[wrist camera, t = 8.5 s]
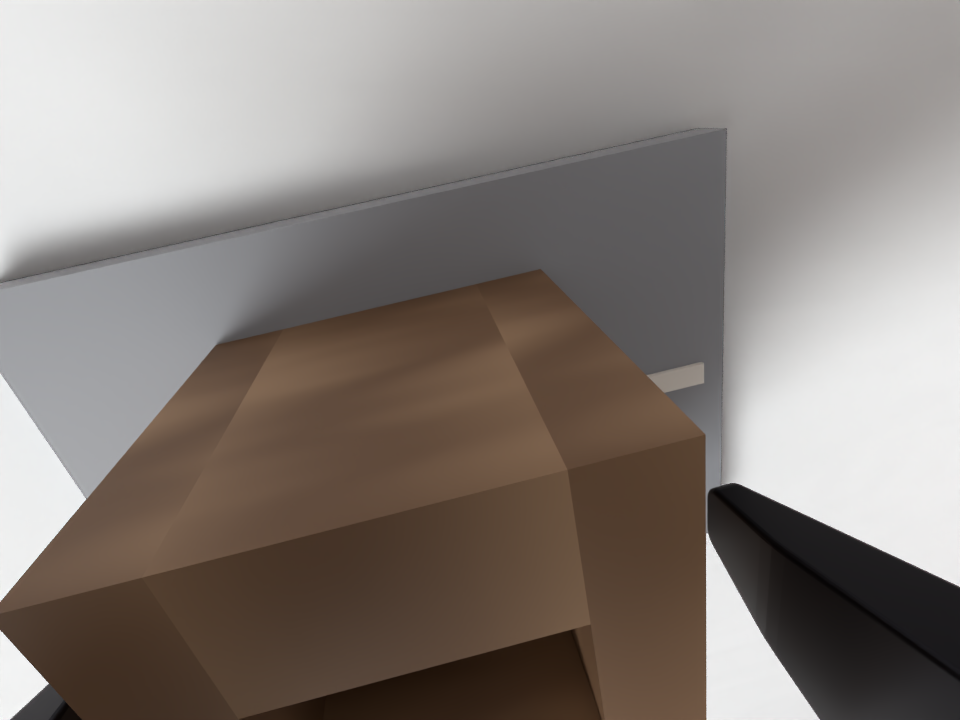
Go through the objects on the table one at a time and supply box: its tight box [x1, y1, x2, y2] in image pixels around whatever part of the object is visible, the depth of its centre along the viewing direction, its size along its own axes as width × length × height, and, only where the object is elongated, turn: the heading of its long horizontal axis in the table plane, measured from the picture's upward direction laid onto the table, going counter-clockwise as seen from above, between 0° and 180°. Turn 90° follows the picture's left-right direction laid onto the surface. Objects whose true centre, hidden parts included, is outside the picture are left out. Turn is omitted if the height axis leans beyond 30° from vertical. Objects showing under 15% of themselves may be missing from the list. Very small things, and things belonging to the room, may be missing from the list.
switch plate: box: [0, 128, 727, 533], centre depth 10 cm, size 14×10×6 cm
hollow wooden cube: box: [0, 269, 706, 720], centre depth 8 cm, size 6×6×6 cm
